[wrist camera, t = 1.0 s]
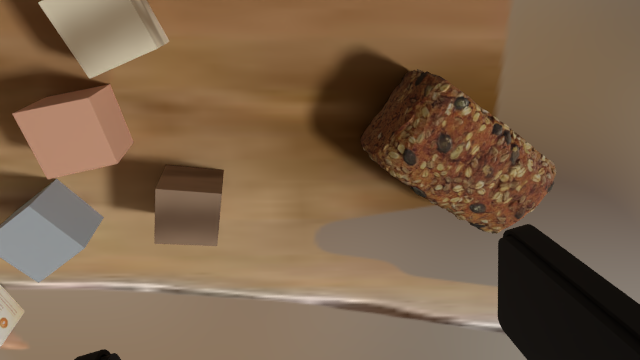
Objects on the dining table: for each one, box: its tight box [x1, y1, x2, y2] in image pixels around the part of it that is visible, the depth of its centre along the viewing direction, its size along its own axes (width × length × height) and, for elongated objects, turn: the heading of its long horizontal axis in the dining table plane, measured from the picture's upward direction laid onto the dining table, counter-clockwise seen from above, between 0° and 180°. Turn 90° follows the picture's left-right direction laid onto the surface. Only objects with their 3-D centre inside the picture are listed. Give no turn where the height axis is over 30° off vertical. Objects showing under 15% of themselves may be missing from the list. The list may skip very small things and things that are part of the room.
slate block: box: [0, 179, 104, 283], centre depth 39 cm, size 6×6×6 cm
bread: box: [361, 69, 556, 233], centre depth 42 cm, size 19×11×10 cm, turn 55°
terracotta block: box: [12, 84, 133, 179], centre depth 35 cm, size 6×6×6 cm
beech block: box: [38, 0, 169, 79], centre depth 32 cm, size 6×6×6 cm
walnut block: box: [155, 165, 224, 246], centre depth 41 cm, size 6×6×6 cm
